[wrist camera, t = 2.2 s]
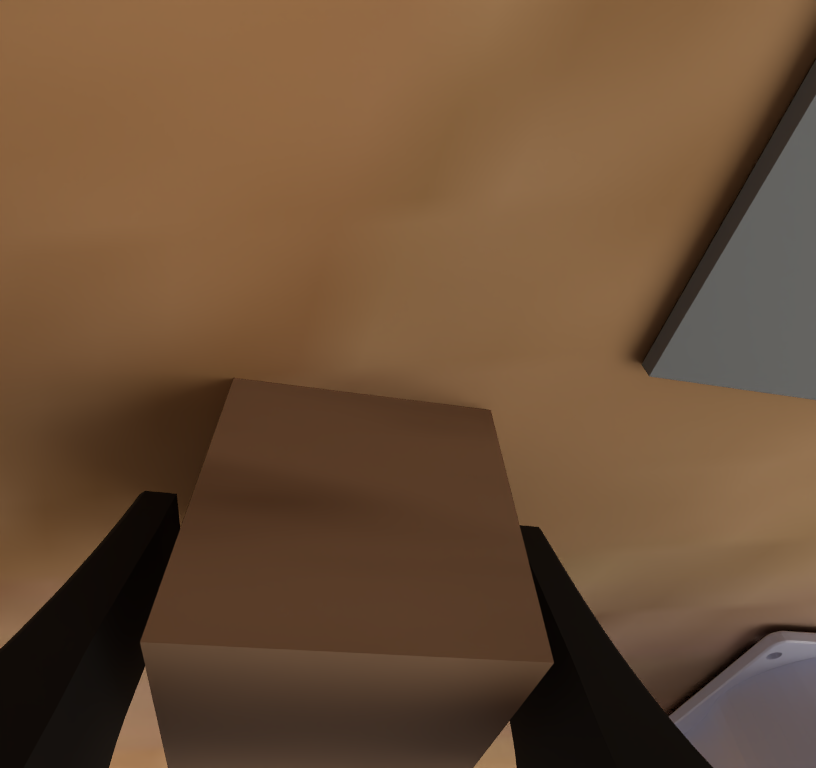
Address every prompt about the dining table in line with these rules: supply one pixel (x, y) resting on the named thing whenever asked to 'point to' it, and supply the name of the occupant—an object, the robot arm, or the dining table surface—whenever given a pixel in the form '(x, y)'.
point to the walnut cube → (344, 589)
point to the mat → (756, 277)
